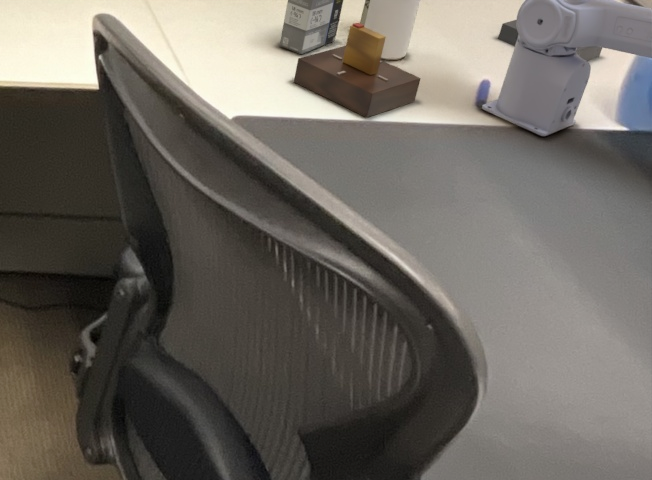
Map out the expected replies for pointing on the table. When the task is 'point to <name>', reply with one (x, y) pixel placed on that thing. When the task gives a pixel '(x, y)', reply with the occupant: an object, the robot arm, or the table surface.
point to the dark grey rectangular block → (511, 34)
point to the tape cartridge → (310, 24)
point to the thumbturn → (364, 49)
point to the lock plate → (356, 83)
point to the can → (393, 24)
